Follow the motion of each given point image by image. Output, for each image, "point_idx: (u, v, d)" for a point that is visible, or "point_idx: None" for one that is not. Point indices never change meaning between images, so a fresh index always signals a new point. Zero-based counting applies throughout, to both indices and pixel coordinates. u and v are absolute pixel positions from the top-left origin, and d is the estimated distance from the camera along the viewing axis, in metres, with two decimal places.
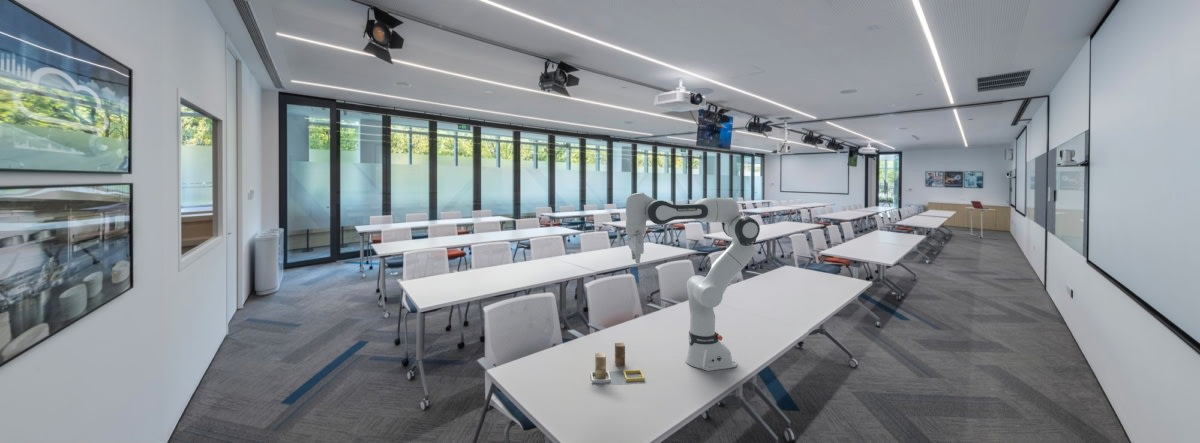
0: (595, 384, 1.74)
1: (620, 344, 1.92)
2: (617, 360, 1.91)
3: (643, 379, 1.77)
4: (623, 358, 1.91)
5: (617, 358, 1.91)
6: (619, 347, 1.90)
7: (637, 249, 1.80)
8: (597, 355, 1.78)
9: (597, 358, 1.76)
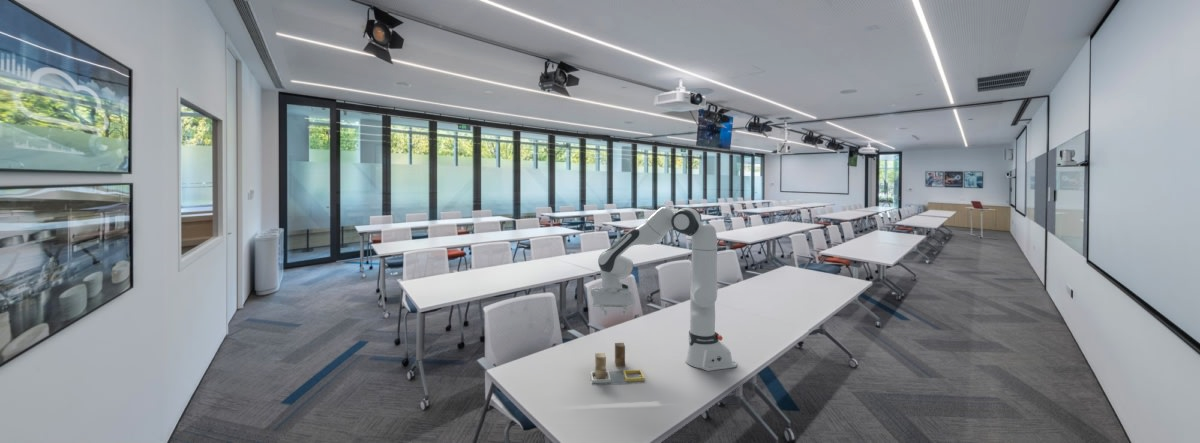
0: (595, 384, 1.74)
1: (620, 344, 1.92)
2: (617, 360, 1.91)
3: (643, 379, 1.77)
4: (623, 358, 1.91)
5: (617, 358, 1.91)
6: (619, 347, 1.90)
7: (592, 302, 2.04)
8: (597, 355, 1.78)
9: (597, 358, 1.76)
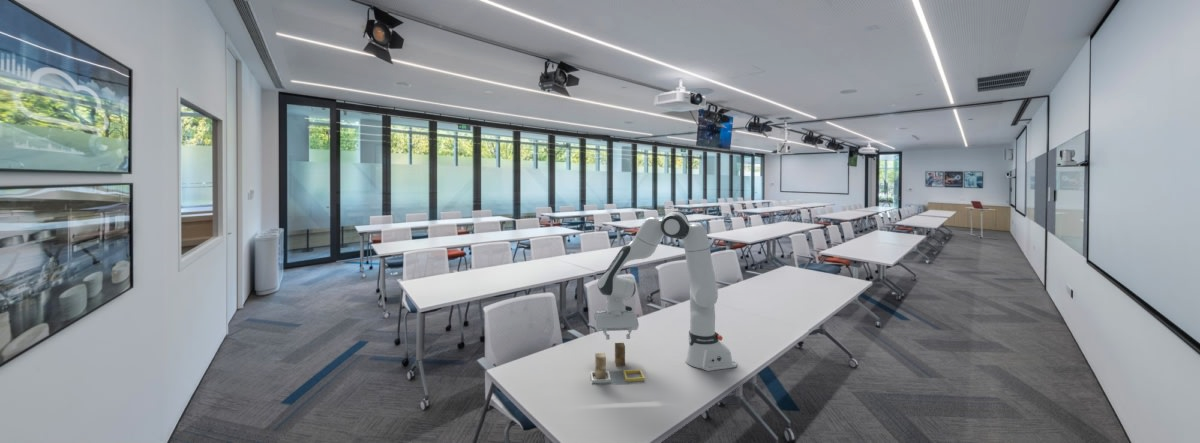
0: (595, 384, 1.74)
1: (620, 344, 1.92)
2: (617, 360, 1.91)
3: (643, 379, 1.77)
4: (623, 358, 1.91)
5: (617, 358, 1.91)
6: (619, 347, 1.90)
7: (595, 326, 2.01)
8: (597, 355, 1.78)
9: (597, 358, 1.76)
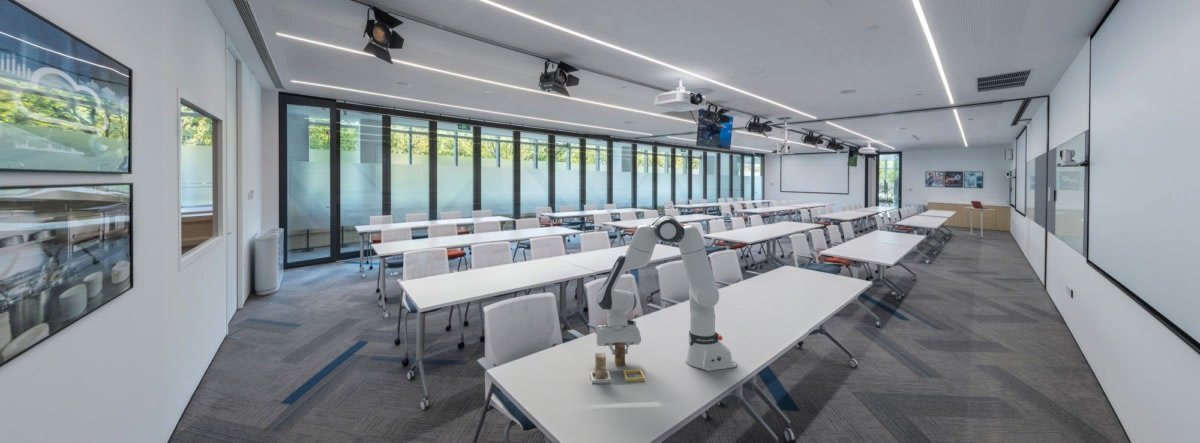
0: (595, 384, 1.74)
1: (620, 344, 1.92)
2: (617, 360, 1.91)
3: (643, 379, 1.77)
4: (623, 358, 1.91)
5: (617, 358, 1.91)
6: (619, 347, 1.90)
7: None
8: (597, 355, 1.78)
9: (597, 358, 1.76)
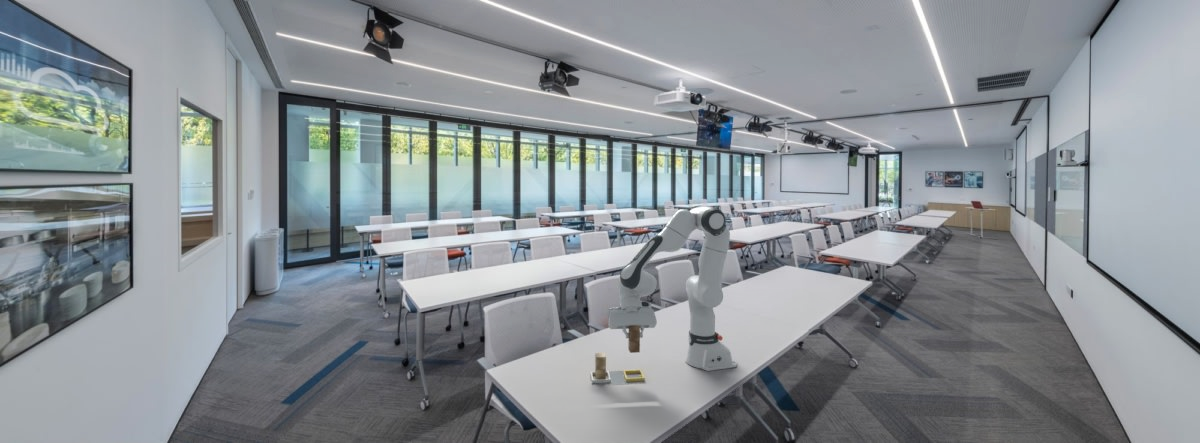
0: (595, 384, 1.74)
1: (634, 327, 1.79)
2: (631, 344, 1.77)
3: (643, 379, 1.77)
4: (638, 342, 1.77)
5: (631, 342, 1.77)
6: (633, 329, 1.77)
7: None
8: (597, 355, 1.78)
9: (597, 358, 1.76)
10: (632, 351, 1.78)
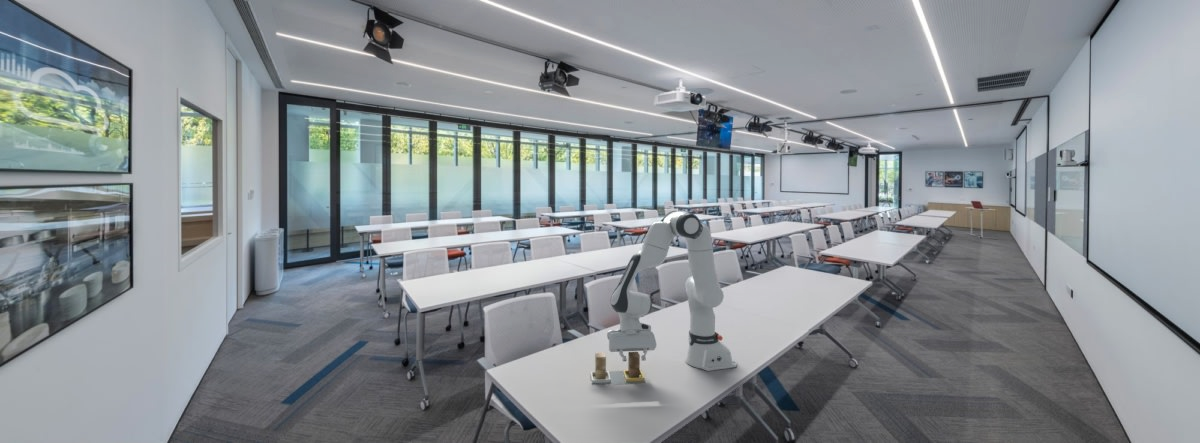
0: (595, 384, 1.74)
1: (634, 353, 1.80)
2: (631, 370, 1.78)
3: (643, 379, 1.77)
4: (637, 368, 1.79)
5: (631, 368, 1.78)
6: (633, 356, 1.78)
7: None
8: (597, 355, 1.78)
9: (597, 358, 1.76)
10: None
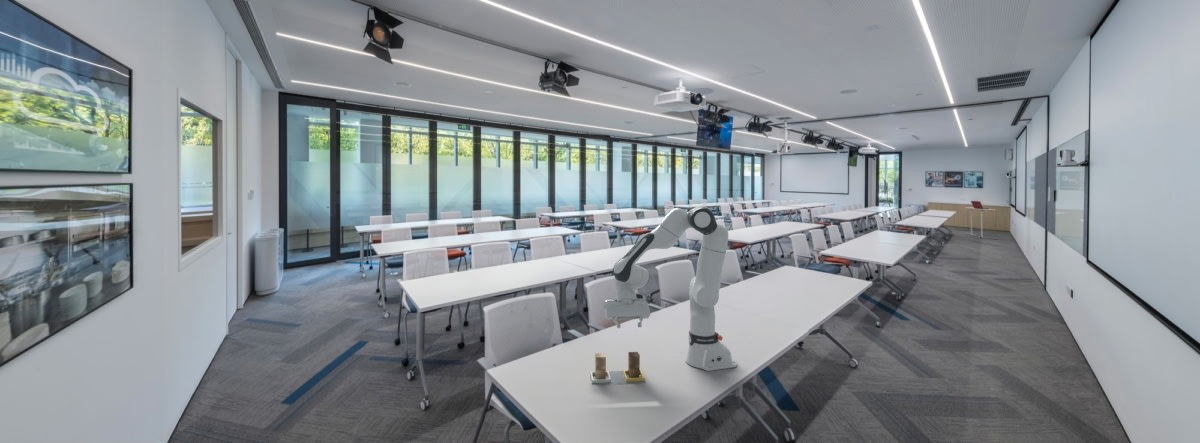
0: (595, 384, 1.74)
1: (634, 353, 1.80)
2: (631, 370, 1.78)
3: (643, 379, 1.77)
4: (637, 368, 1.79)
5: (631, 368, 1.78)
6: (633, 356, 1.78)
7: (605, 315, 1.95)
8: (597, 355, 1.78)
9: (597, 358, 1.76)
10: None
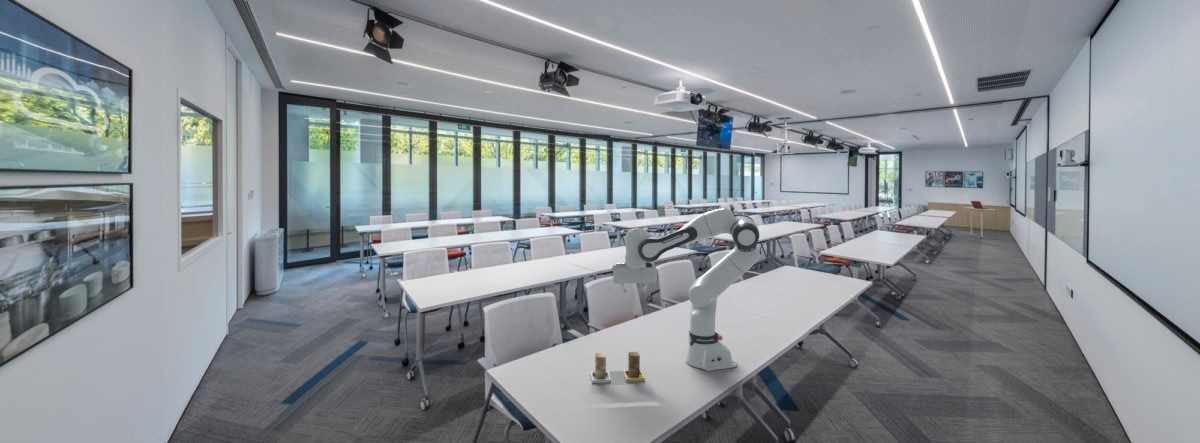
0: (595, 384, 1.74)
1: (634, 353, 1.80)
2: (631, 370, 1.78)
3: (643, 379, 1.77)
4: (637, 368, 1.79)
5: (631, 368, 1.78)
6: (633, 356, 1.78)
7: None
8: (597, 355, 1.78)
9: (597, 358, 1.76)
10: None
